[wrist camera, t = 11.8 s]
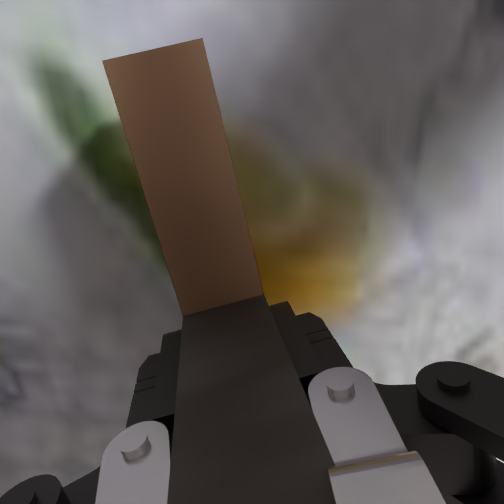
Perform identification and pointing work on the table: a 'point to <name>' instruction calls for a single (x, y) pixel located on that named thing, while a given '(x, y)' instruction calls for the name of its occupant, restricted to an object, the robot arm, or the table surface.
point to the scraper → (215, 298)
